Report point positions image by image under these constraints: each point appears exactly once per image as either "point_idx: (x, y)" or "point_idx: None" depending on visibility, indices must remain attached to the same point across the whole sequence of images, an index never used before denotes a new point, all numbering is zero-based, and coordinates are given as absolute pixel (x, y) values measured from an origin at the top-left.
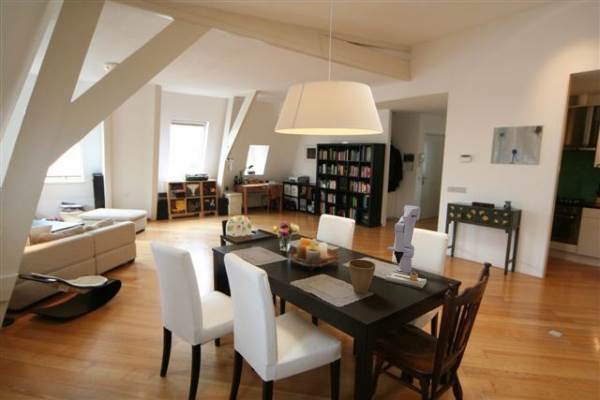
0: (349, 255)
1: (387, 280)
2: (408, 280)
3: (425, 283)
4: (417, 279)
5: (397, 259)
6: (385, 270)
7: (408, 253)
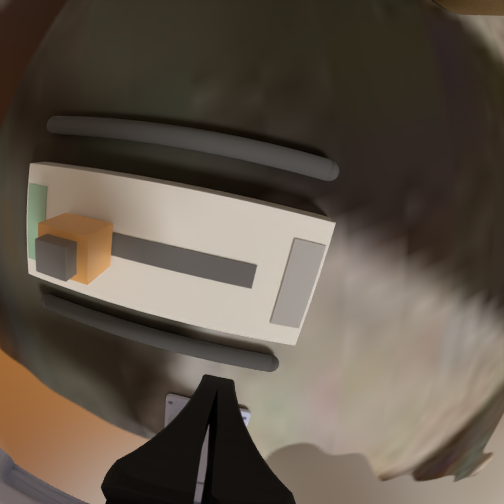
0: (465, 449)
1: (311, 154)
2: (119, 197)
3: None
4: None
5: (220, 415)
6: (328, 389)
7: (20, 469)
